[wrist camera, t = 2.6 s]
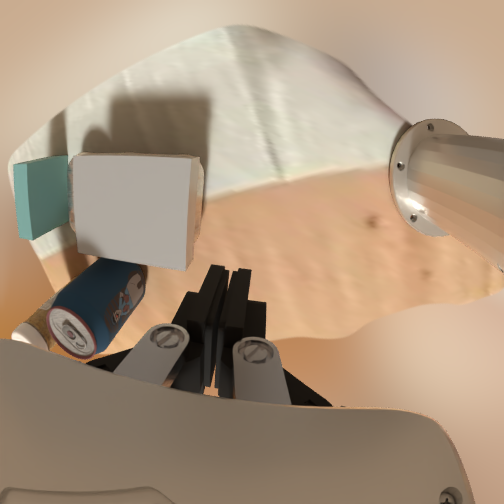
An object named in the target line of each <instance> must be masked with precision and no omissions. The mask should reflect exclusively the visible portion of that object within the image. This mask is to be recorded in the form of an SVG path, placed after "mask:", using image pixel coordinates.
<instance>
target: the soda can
mask: <svg viewBox="0 0 504 504" xmlns="http://www.w3.org/2000/svg"><path fill="white" fill-rule="evenodd" d="M144 294H145V280H144V275H143V272H142V270H141V268H140V267H139V265H138V264H137V263H132V262H126V261H120V260H115V259H109V258H104V257H101V258H99V259H98V260H97V261H96V262H94V263H93V264H92V265H91V266H89V267H88V268H87V269H86V270H85V271H83V272H82V273H81V274H80V275H79V276H77V277H76V278H75V279H74V280H73V281H72V282H70V283H69V284H68V285H67V286H66V287H65V288H63V289H62V290H61V291H60V292H59V293H58V294H57V295H56V296H55V297H54V299H53V301H52V304H51V308H50V310H49V311H48V313H47V316H46V322H47V326H48V329H49V332H50V334H51V336H52V337H53V339H54V340H55V342H56V343H57V344H58V345H59V346H60V347H61V348H62V349H63V350H64V351H66V352H67V353H69V354H70V355H72V356H74V357H76V358H79V359H90V358H92V357H93V356H94V355H95V354H98V353H100V352H103V351H104V350H105V349H106V348H107V347H108V346H109V344H110V343H111V341H112V340H113V339H114V337H115V336H116V334H117V333H118V331H119V330H120V329H121V327H122V326H123V325H124V323H125V322H126V320H127V319H128V318H129V316H130V315H131V314H132V312H133V311H134V309H135V308H136V307H137V305H138V304H139V303H140V301H141V300H142V298H143V297H144Z"/></svg>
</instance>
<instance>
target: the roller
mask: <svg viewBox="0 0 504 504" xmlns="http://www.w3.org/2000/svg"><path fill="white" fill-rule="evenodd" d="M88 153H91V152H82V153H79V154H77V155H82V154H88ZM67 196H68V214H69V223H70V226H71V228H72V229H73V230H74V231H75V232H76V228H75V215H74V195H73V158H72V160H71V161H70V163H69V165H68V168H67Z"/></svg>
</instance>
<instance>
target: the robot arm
mask: <svg viewBox="0 0 504 504" xmlns="http://www.w3.org/2000/svg"><path fill="white" fill-rule="evenodd" d="M427 126H428V129H427ZM398 163H399V167H398V168H397V164H398ZM389 181H390V190H391V194H392V198H393V201H394V204H395V206H396V208H397V210H398V212H399V213H400V215H401V216H402V218H403V219H404V220H405V221H406V222H407V223H408V224H409V225H410V226H411V227H412V228H414V229H415V230H417V231H418V232H420V233H422V234H424V235H427V236H432V237H444V236H448V235H451V236H452V237H454V238H455V239H457V240H458V241H460V242H461V243H463V244H464V245H465V246H467V247H468V248H470V249H471V250H473V251H474V252H475V253H477V254H478V255H479V256H481V257H482V258H483V259H485V260H486V261H487V262H489V263H490V264H491V265H493V266H494V267H495V268H497V269H498V270H499V271H500V272H502V273H503V274H504V139H499V138H491V137H481V136H470V135H468V134H467V132H465V131H464V130H463V129H462V128H461V127H460V126H458V125H456V124H455V123H453V122H450V121H447V120H444V119H427V120H424V121H421V122H418V123H416V124H414V125H413V126H411V127H410V128H409V129H408V130H407V131H406V132H405V133H404V134H403V135H402V136H401V138H400V140H399V141H398V143H397V144H396V147H395V149H394V152H393V154H392V159H391V163H390V174H389ZM411 215H412V217H411ZM410 217H411V218H410ZM251 271H252V270H249V269H241V268H239V269H238V271H233V273H232V277H231V280H230V284H229V288H228V279H229V270H225V266H220V265H212V264H211V266H210V268H209V271H208V273H207V275H206V277H205V280H204V282H203V284H202V286H201V289H200V291H199V293H196V292H190V291H188V292H187V293H186V295H185V297H184V299H183V301H182V303H181V305H180V307H179V309H178V311H177V313H176V315H175V317H174V319H173V321H172V323H171V324H159V325H156V326H154V327H152V328H151V329H149V330H148V331H147V332H146V334H145V335H144V336H143V337H142V338H141V339H140V341H139V342H138V343H137V344H136V345H135V347H134V348H131V349H128V350H125V351H121V352H118V353H115V354H112V355H108V356H105V357H102V358H98V359H95V360H92V361H89V362H88V363H86V364H84V363H81V362H80V361H76V360H73V359H70V358H67V357H65V356H62V355H60V354H57V353H54V352H51V351H49V350H46V349H43V348H41V347H38V346H35V345H33V344H29V343H26V342H23V341H17V340H12V339H0V504H475V501H474V497H473V493H472V490H471V487H470V483H469V480H468V477H467V474H466V472H465V469H464V466H463V464H462V461H461V459H460V456H459V454H458V452H457V450H456V447H455V445H454V444H453V442H452V440H451V438H450V436H449V435H448V433H447V431H446V430H445V429H444V427H443V426H442V425H441V424H440V423H439V422H438V421H436V420H434V419H433V418H431V417H428V416H426V415H423V414H421V413H417V412H413V411H409V410H403V409H394V408H379V407H345V406H341V407H333V406H332V405H331V404H330V403H329V402H328V401H327V400H326V399H324V398H323V397H322V396H320V395H319V394H317V393H316V392H314V391H313V390H312V389H311V388H309V387H308V386H306V385H305V384H304V383H302V382H301V381H299V380H298V379H297V378H296V377H294V376H293V375H292V374H290V373H289V372H288V371H286V370H285V369H284V368H282V364H281V360H280V356H279V352H278V350H277V347H276V346H275V345H274V344H273V343H272V342H270V341H268V340H266V339H265V334H266V302H259V301H251V300H248V294H249V286H250V278H251ZM227 290H228V291H227ZM215 365H216V370H215V388H218V395H219V397H216V396H210V395H204V394H203V393H204V389H205V386H206V387H210V386H211V382H212V377H213V373H214V369H215ZM198 393H199V394H198Z"/></svg>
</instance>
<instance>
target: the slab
mask: <svg viewBox="0 0 504 504" xmlns="http://www.w3.org/2000/svg"><path fill="white" fill-rule="evenodd" d="M199 162H200V157H197V156H182V155H165V154H139V153H88V154H82V155H76V156H73V195H74V215H75V228H76V239H77V248H78V253H82V254H87V255H93V256H98V257H104V258H109V259H115V260H120V261H126V262H132V263H138V264H143V265H149V266H155V267H161V268H168V269H174V270H180V271H186V270H187V268H188V267H189V265H190V264H191V262H192V260H193V253H194V232H195V215H196V200H197V186H198V174H199Z"/></svg>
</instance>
